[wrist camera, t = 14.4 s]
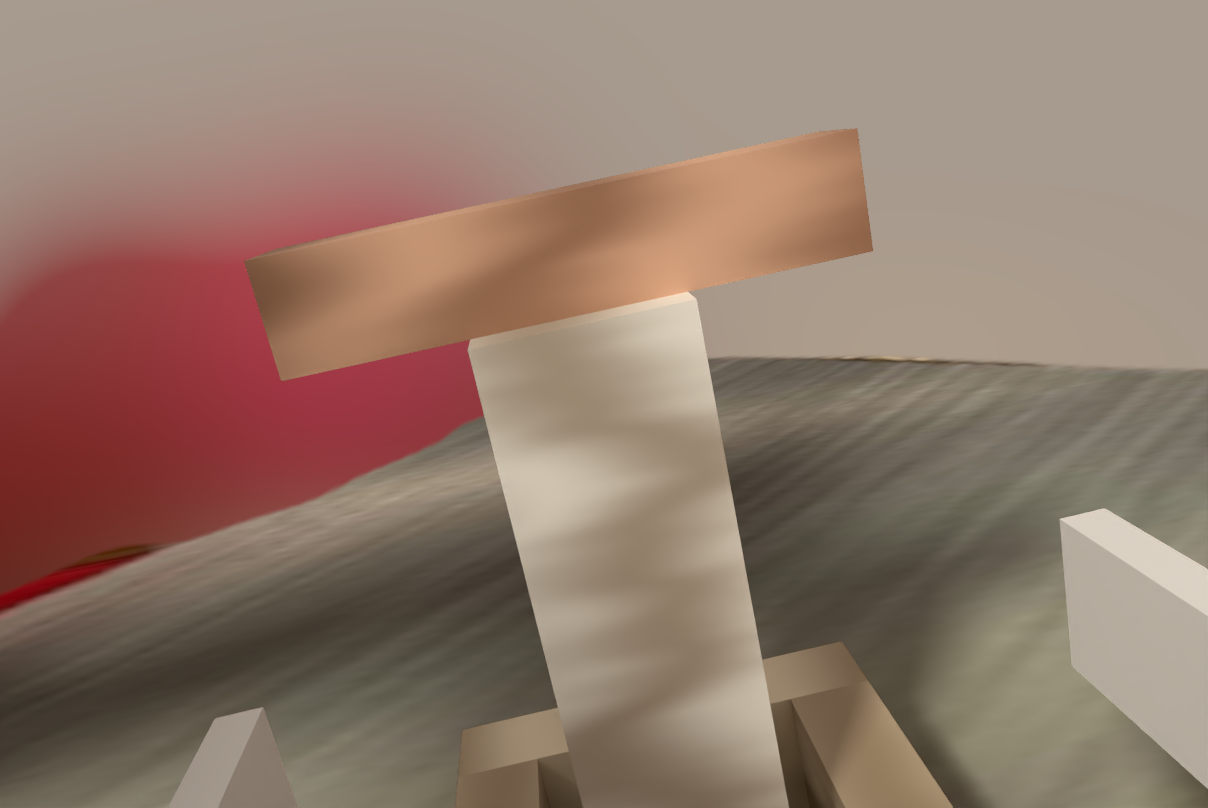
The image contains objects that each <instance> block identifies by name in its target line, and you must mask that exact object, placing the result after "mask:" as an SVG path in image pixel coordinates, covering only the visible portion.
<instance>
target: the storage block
mask: <svg viewBox="0 0 1208 808" xmlns="http://www.w3.org/2000/svg"><path fill="white" fill-rule="evenodd" d="M762 662H763V667H764V673H765V678H766V684H767V689H768V695H769V700H770V706H771V711H772V717H773V722H774V728H775V733H776V739H777V744H778V750H779V755H780V761H781V766H782V772H783V777H784V783H785V788H786V794H787V799H788V805H789V808H953V806H952V805H951V803H950V802H949V800H948V799H947V797H946V796H945V794H944V793H943V791H942V790H941V788H940V787H939V785H938V784H937V782H936V781H935V780H934V778H933V777H932V775H931V774H930V772H929V771H928V769H927V768H926V766H925V765H924V763H923V762H922V760H921V759H920V757H919V756H918V754H917V753H916V751H915V750H914V748H913V747H912V745H911V744H910V742H909V741H908V739H907V738H906V736H905V735H904V733H903V732H902V730H901V729H900V727H899V726H898V724H897V723H896V721H895V720H894V718H893V717H892V715H891V714H890V712H889V711H888V709H887V708H886V706H885V705H884V703H883V702H882V700H881V699H880V697H879V696H878V694H877V693H876V691H875V690H874V688H873V687H872V685H871V684H870V682H869V681H868V679H867V678H866V676H865V675H864V674H863V672H862V671H861V669H860V668H859V666H858V665H857V663H856V662H855V660H854V659H853V657H852V656H851V654H850V653H849V651H848V650H847V648H846V647H845V645H844V644H843V642H842V641H840V642H836V643H831V644H827V645H823V646H819V647H814V648H810V649H806V650H802V651H797V652H793V653H789V654H785V655H780V656H776V657H772V658H767V659H763V660H762ZM455 808H583V806H582V802H581V798H580V794H579V790H578V786H577V782H576V778H575V774H574V770H573V766H572V762H571V758H570V754H569V750H568V746H567V742H566V738H565V734H564V730H563V726H562V722H561V718H560V714H559V710H558V708H554V709H550V710H545V711H541V712H537V713H533V714H528V715H524V716H520V717H515V718H511V719H507V720H503V721H498V722H494V723H490V724H486V725H481V726H477V727H473V728H468V729H464V730H462V740H461V750H460V761H459V771H458V782H457V792H456V803H455Z"/></svg>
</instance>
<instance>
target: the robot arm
mask: <svg viewBox="0 0 1208 808" xmlns="http://www.w3.org/2000/svg"><path fill="white" fill-rule="evenodd" d="M1060 529H1061V541H1062V553H1063V565H1064V577H1065V589H1066V601H1067V613H1068V625H1069V637H1070V649H1071V661H1072V667H1073V668H1075V669H1076V670H1077V671H1078V672H1079V673H1080V674H1081V675H1082V676H1083V677H1084V678H1086V679H1087V680H1088V681H1089V682H1090V683H1091V684H1092V685H1093V686H1094V687H1096V688H1097V689H1098V690H1099V691H1100V692H1101V693H1102V694H1103V695H1104V696H1105V697H1107V698H1108V699H1109V700H1110V701H1111V702H1112V703H1113V704H1114V705H1115V706H1117V707H1118V708H1119V709H1120V710H1121V711H1122V712H1123V713H1124V714H1125V715H1126V716H1128V717H1129V718H1130V719H1131V720H1132V721H1133V722H1134V723H1135V724H1136V725H1138V726H1139V727H1140V728H1141V729H1142V730H1143V731H1144V732H1145V733H1146V734H1148V735H1149V736H1150V737H1151V738H1152V739H1153V740H1154V741H1155V742H1156V743H1157V744H1159V745H1160V746H1161V747H1162V748H1163V749H1164V750H1165V751H1166V752H1167V753H1169V754H1170V755H1171V756H1172V757H1173V758H1174V759H1175V760H1176V761H1177V762H1178V763H1180V764H1181V765H1182V766H1183V767H1184V768H1185V769H1186V770H1187V771H1188V772H1190V773H1191V774H1192V775H1193V776H1194V777H1195V778H1196V779H1197V780H1198V781H1199V782H1201V783H1202V784H1203V785H1204V786H1205V787H1206V788H1207V789H1208V569H1207V568H1205V567H1203V566H1201V565H1200V564H1198V563H1196V562H1195V561H1193V560H1191V559H1190V558H1188V557H1186V556H1184V555H1183V554H1181V553H1179V552H1178V551H1176V550H1174V549H1173V548H1171V547H1169V546H1168V545H1166V544H1164V543H1162V542H1161V541H1159V540H1157V539H1156V538H1154V537H1152V536H1151V535H1149V534H1147V533H1145V532H1144V531H1142V530H1140V529H1139V528H1137V527H1135V526H1134V525H1132V524H1130V523H1128V522H1127V521H1125V520H1123V519H1122V518H1120V517H1118V516H1117V515H1115V514H1113V513H1111V512H1110V511H1108V510H1106V509H1105V508H1104V509H1100V510H1096V511H1091V512H1087V513H1083V514H1079V515H1075V516H1070V517H1066V518H1062V519H1060ZM168 808H298V806H297V803H296V800H295V797H294V794H293V792H292V789H291V786H290V783H289V780H288V777H287V774H286V771H285V769H284V766H283V763H282V760H281V757H280V754H279V751H278V748H277V746H276V743H275V740H274V737H273V734H272V731H271V728H270V725H269V723H268V720H267V717H266V714H265V711H264V708H263V707H261V708H257V709H253V710H249V711H244V712H240V713H236V714H232V715H227V716H223V717H219V718H215V719H214V721H213V723H212V725H211V727H210V729H209V731H208V733H207V734H206V736H205V738H204V740H203V742H202V744H201V746H200V748H199V750H198V751H197V753H196V755H195V757H194V759H193V761H192V763H191V765H190V767H189V769H188V770H187V772H186V774H185V776H184V778H183V780H182V782H181V784H180V786H179V787H178V789H177V791H176V793H175V795H174V797H173V799H172V801H171V803H170V805H169V806H168Z"/></svg>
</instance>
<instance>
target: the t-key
mask: <svg viewBox="0 0 1208 808" xmlns="http://www.w3.org/2000/svg"><path fill="white" fill-rule="evenodd" d="M871 251H873V248H872V239H871V232H870V224H869V216H868V208H867V201H866V193H865V185H864V177H863V170H862V162H861V154H860V147H859V139H858V131H857V129H844V130H832V131H819V132H815V133H810V134H805V135H801V136H796V137H792V138H787V139H782V140H778V141H773V142H769V143H764V144H759V145H755V146H750V147H745V148H741V149H736V150H732V151H727V152H722V153H718V154H713V155H709V156H704V157H699V158H695V159H690V160H685V161H681V162H676V163H671V164H667V165H662V166H658V167H653V168H648V169H644V170H639V171H635V172H630V173H625V174H621V175H616V176H611V177H607V178H602V179H598V180H593V181H589V182H584V183H579V184H574V185H570V186H565V187H560V188H556V189H551V190H547V191H542V192H537V193H533V194H529V195H523V196H519V197H515V198H510V199H505V200H501V201H496V202H491V203H486V204H482V205H477V206H473V207H468V208H463V209H459V210H454V211H449V212H445V213H440V214H436V215H431V216H426V217H422V218H417V219H413V220H408V221H403V222H399V223H394V224H390V225H385V226H380V227H376V228H371V229H366V230H362V231H358V232H353V233H348V234H343V235H338V236H334V237H329V238H325V239H320V240H315V241H311V242H306V243H301V244H297V245H292V246H288V247H283V248H278V249H275V250H272V251H270V252H267V253H264V254H262V255H259V256H256V257H254V258H251V259H248V260H246V261H244V262H245V265H246V269H247V272H248V275H249V278H250V281H251V284H252V288H253V291H254V294H255V298H256V301H257V304H258V307H259V311H260V314H261V317H262V320H263V323H264V327H265V330H266V333H267V336H268V339H269V343H270V346H271V349H272V352H273V356H274V359H275V362H276V366H277V369H278V372H279V375H280V379H281V381H283V380H289V379H293V378H297V377H302V376H306V375H311V374H316V373H320V372H325V371H330V370H334V369H338V368H343V367H348V366H352V365H357V364H361V363H366V362H370V361H375V360H379V359H384V358H389V357H393V356H398V355H402V354H406V353H411V352H416V351H420V350H425V349H429V348H434V347H439V346H443V345H448V344H452V343H457V342H461V341H466V340H470V343H469V347H468V353H469V356H470V361H471V364H472V368H473V372H474V376H475V380H476V384H477V388H478V392H479V396H480V400H481V404H482V408H483V412H484V416H485V420H486V424H487V428H488V432H489V436H490V440H491V444H492V448H493V452H494V456H495V460H496V464H497V468H498V472H499V476H500V480H501V484H502V488H503V492H504V496H505V500H506V504H507V508H508V512H509V516H510V520H511V523H512V527H513V531H514V535H515V539H516V543H517V547H518V551H519V555H520V559H521V563H522V567H523V571H524V575H525V579H526V583H527V587H528V591H529V595H530V599H531V603H532V607H533V611H534V615H535V619H536V623H537V627H538V631H539V635H540V639H541V643H542V647H543V651H544V655H545V659H546V663H547V667H548V671H549V675H550V679H551V682H552V686H553V690H554V694H555V698H556V702H557V706H558V710H559V714H560V718H561V722H562V726H563V730H564V734H565V738H566V742H567V746H568V750H569V754H570V758H571V762H572V766H573V770H574V774H575V778H576V782H577V786H578V790H579V794H580V798H581V802H582V806H583V808H789V805H788V799H787V794H786V788H785V783H784V777H783V772H782V766H781V761H780V755H779V750H778V744H777V739H776V733H775V728H774V722H773V717H772V711H771V706H770V700H769V695H768V689H767V684H766V678H765V673H764V667H763V662H762V656H761V651H760V645H759V640H758V634H757V629H756V624H755V618H754V613H753V607H752V602H751V596H750V591H749V585H748V580H747V574H746V569H745V563H744V558H743V552H742V547H741V541H740V536H739V530H738V525H737V519H736V514H735V508H734V503H733V497H732V492H731V486H730V481H729V475H728V470H727V464H726V459H725V453H724V448H723V442H722V437H721V431H720V426H719V420H718V415H717V409H716V404H715V398H714V393H713V387H712V382H711V376H710V371H709V365H708V360H707V355H706V349H705V344H704V338H703V332H702V327H701V322H700V316H699V311H698V305H697V300H696V299H695V298H694V297H693V296H692V295H691V294H690V293H688V292H689V291H693V290H698V289H703V288H707V287H711V286H716V285H721V284H725V283H730V282H735V281H739V280H744V279H748V278H753V277H757V276H762V275H766V274H771V273H775V272H780V271H785V270H789V269H794V268H798V267H803V266H807V265H811V264H816V263H821V262H826V261H830V260H835V259H839V258H844V257H848V256H852V255H857V254H862V253H866V252H871Z"/></svg>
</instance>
